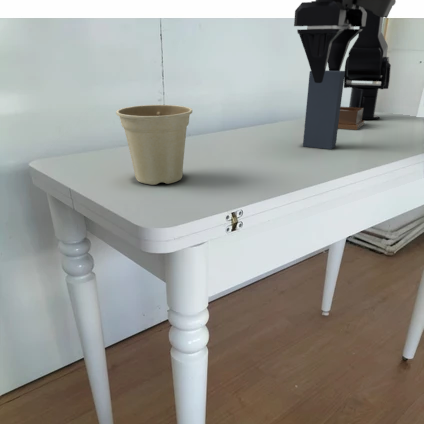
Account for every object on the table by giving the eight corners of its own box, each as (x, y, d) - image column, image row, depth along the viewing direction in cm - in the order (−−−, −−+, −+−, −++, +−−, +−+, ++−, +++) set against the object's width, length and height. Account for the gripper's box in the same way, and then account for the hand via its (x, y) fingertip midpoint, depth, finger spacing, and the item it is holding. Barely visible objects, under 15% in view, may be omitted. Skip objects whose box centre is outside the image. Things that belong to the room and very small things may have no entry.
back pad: (307, 143, 79) (314, 70, 73) (335, 146, 77) (345, 70, 71) (302, 146, 77) (309, 71, 71) (331, 149, 75) (341, 72, 69)
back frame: (317, 121, 99) (319, 104, 97) (364, 124, 95) (366, 107, 93) (308, 126, 94) (309, 109, 92) (356, 129, 89) (359, 112, 88)
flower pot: (186, 190, 56) (183, 116, 51) (113, 187, 57) (104, 114, 52) (200, 171, 64) (198, 105, 59) (135, 169, 65) (129, 104, 60)
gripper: (388, -57, 53) (366, 88, 61) (408, -39, 67) (388, 77, 75) (297, -49, 58) (288, 85, 66) (334, -34, 72) (323, 75, 80)
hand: (326, 80), depth 72 cm, fingers open, 9 cm apart
